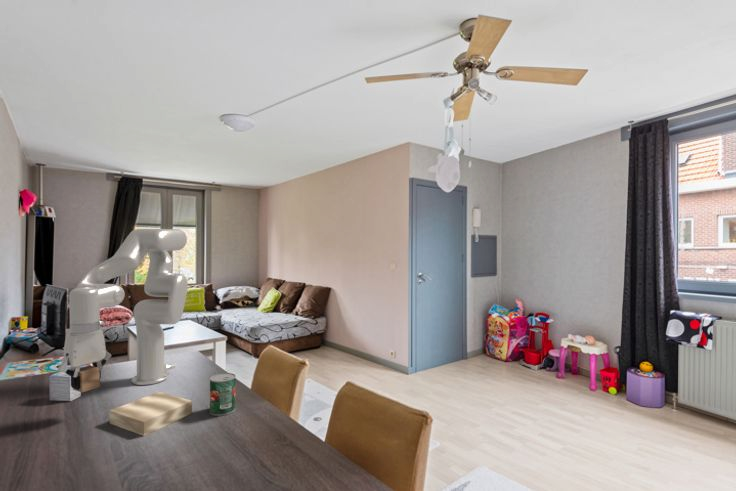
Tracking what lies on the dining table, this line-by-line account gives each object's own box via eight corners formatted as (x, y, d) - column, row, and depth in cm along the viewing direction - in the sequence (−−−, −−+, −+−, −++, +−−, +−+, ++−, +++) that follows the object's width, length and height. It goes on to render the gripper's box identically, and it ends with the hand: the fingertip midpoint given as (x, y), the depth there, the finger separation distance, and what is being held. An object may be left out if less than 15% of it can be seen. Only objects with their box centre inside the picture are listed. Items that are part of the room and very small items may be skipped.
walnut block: (90, 383, 123) (90, 365, 123) (99, 386, 121) (99, 367, 121) (72, 389, 119) (72, 370, 118) (82, 392, 116) (81, 373, 116)
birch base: (158, 403, 130) (158, 391, 130) (192, 413, 123) (192, 400, 123) (109, 423, 115) (109, 410, 115) (144, 436, 109) (144, 422, 109)
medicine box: (81, 396, 135) (81, 372, 135) (70, 402, 130) (70, 376, 130) (60, 395, 136) (60, 371, 135) (48, 400, 131) (48, 375, 131)
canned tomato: (204, 412, 124) (204, 378, 124) (223, 403, 131) (223, 371, 131) (221, 418, 120) (221, 383, 120) (240, 408, 127) (240, 375, 127)
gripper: (106, 320, 128) (107, 374, 129) (46, 332, 113) (47, 393, 114) (120, 323, 125) (121, 378, 126) (60, 335, 110) (61, 398, 111)
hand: (86, 384), depth 120 cm, fingers closed on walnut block, 4 cm apart
